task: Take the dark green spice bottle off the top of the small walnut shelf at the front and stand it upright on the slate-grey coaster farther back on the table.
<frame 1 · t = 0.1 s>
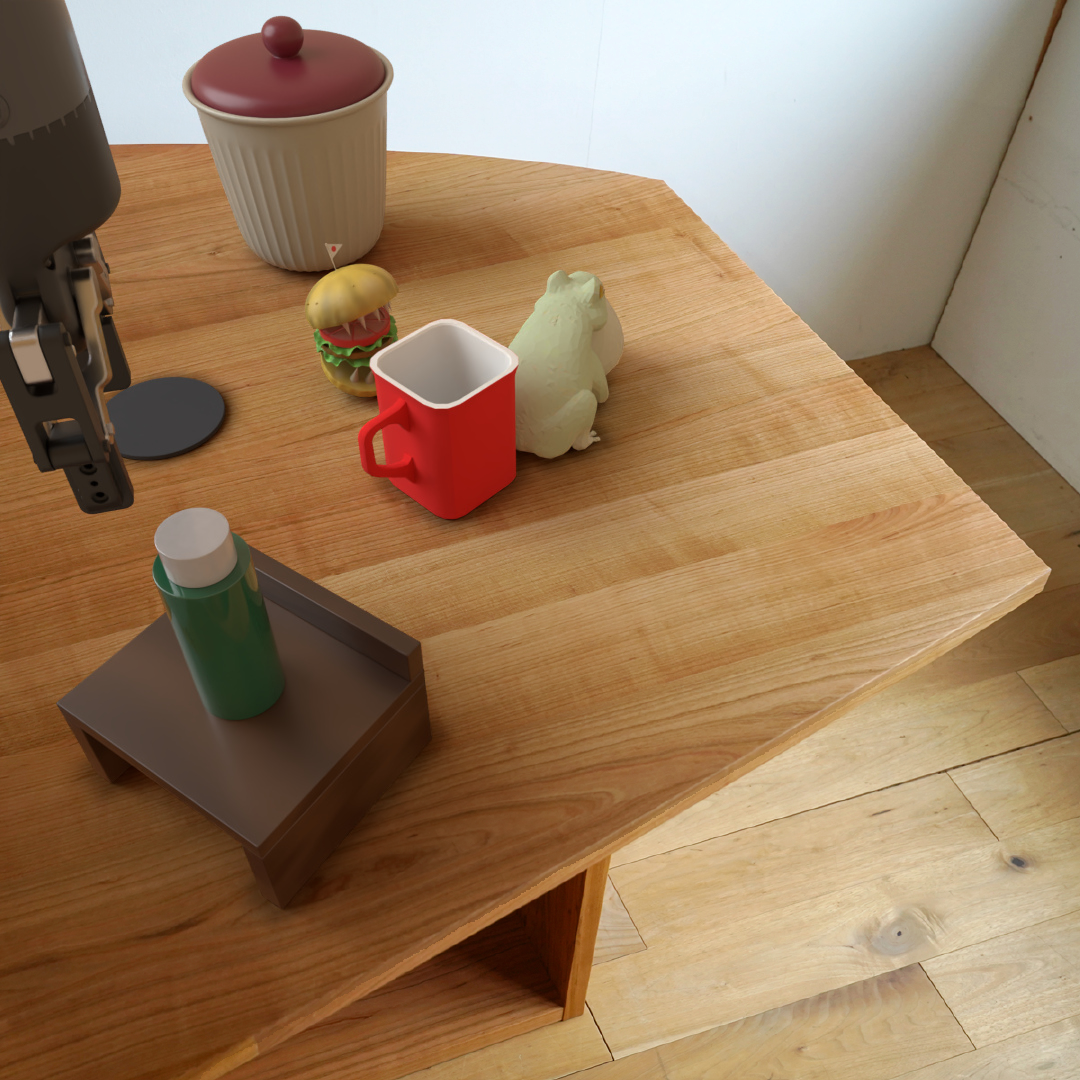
hand: (110, 443, 48), 22 cm above the table, tool pointing down, fingers open, 8 cm apart
hamburger: (363, 382, 87), on the table
bottle: (242, 685, 57), point 7 cm above the table, touching shelf
mug: (434, 489, 78), on the table
shelf: (266, 754, 62), on the table
coaster: (161, 418, 83), on the table
canister: (316, 246, 102), on the table
figurine: (558, 402, 85), on the table
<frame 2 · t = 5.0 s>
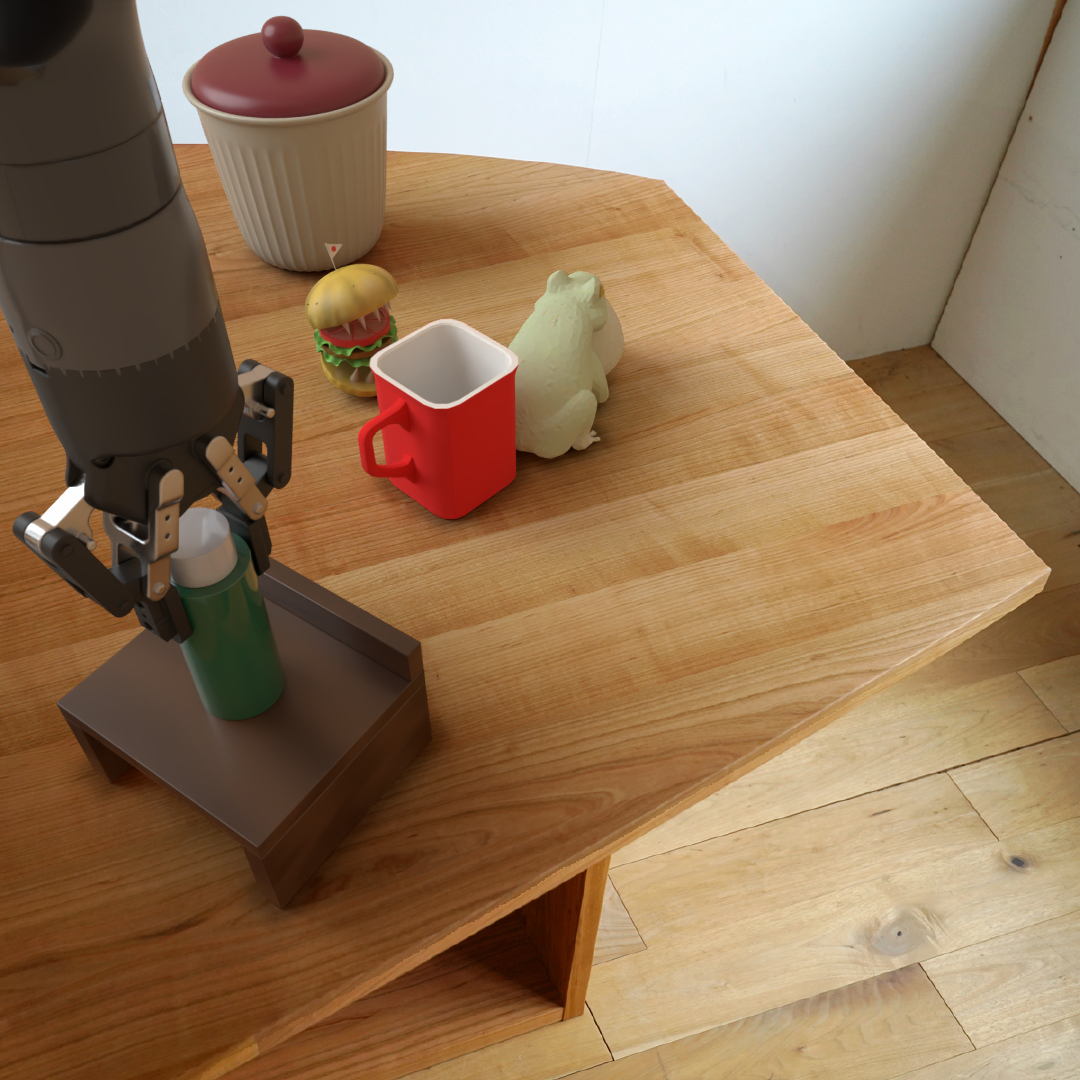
hand: (212, 597, 51), 14 cm above the table, tool pointing down, fingers closed on bottle, 4 cm apart
bottle: (242, 685, 57), point 7 cm above the table, touching gripper, shelf
everything else where it was.
when the fingers open (8 cm above the table, at t = 14.1 s): bottle stays where it is, resting on coaster.
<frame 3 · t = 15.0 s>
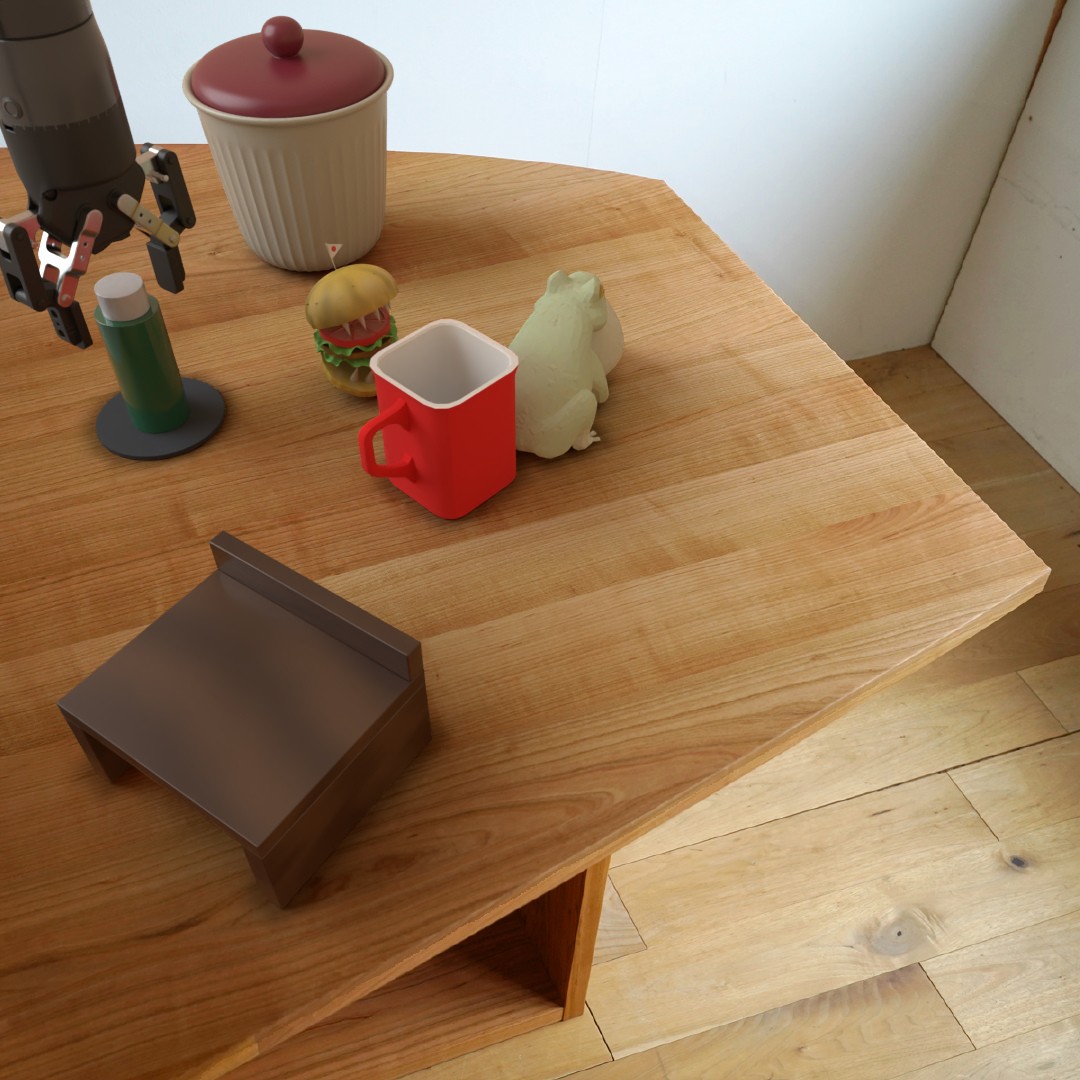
hand: (127, 315, 76), 10 cm above the table, tool pointing down, fingers open, 8 cm apart
bottle: (161, 415, 83), resting on coaster
everything else where it was.
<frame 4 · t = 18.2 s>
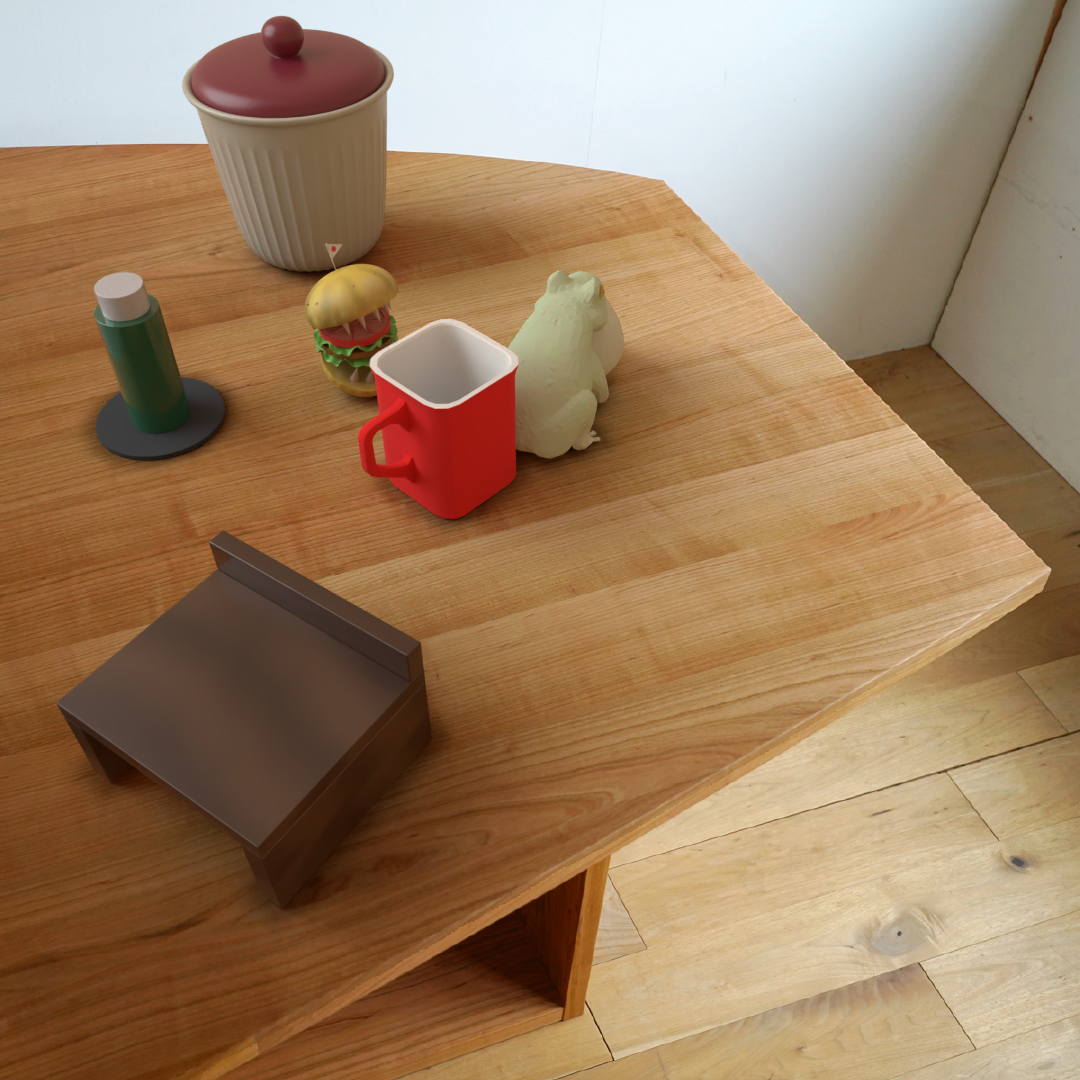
nothing on the table moved.
at the end: bottle 0.1 cm off-centre on the coaster, point 0.4 cm above the coaster's base; bottle tilted 0°; the gripper is holding nothing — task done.
